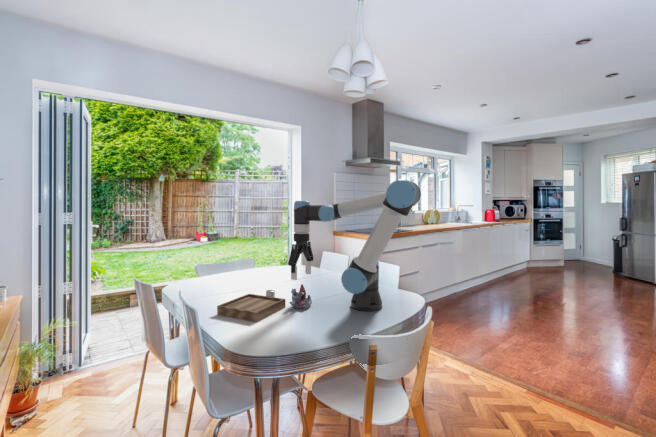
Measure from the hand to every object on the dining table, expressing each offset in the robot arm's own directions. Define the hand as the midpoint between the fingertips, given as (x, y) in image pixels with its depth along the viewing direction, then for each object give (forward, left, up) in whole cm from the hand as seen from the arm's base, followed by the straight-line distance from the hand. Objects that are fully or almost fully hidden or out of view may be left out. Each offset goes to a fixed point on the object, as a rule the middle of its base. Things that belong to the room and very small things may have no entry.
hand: (301, 276), depth 156 cm
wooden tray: (+18, +15, -15) cm, 27 cm away
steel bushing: (+20, -2, -15) cm, 25 cm away
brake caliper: (0, 0, -15) cm, 15 cm away
